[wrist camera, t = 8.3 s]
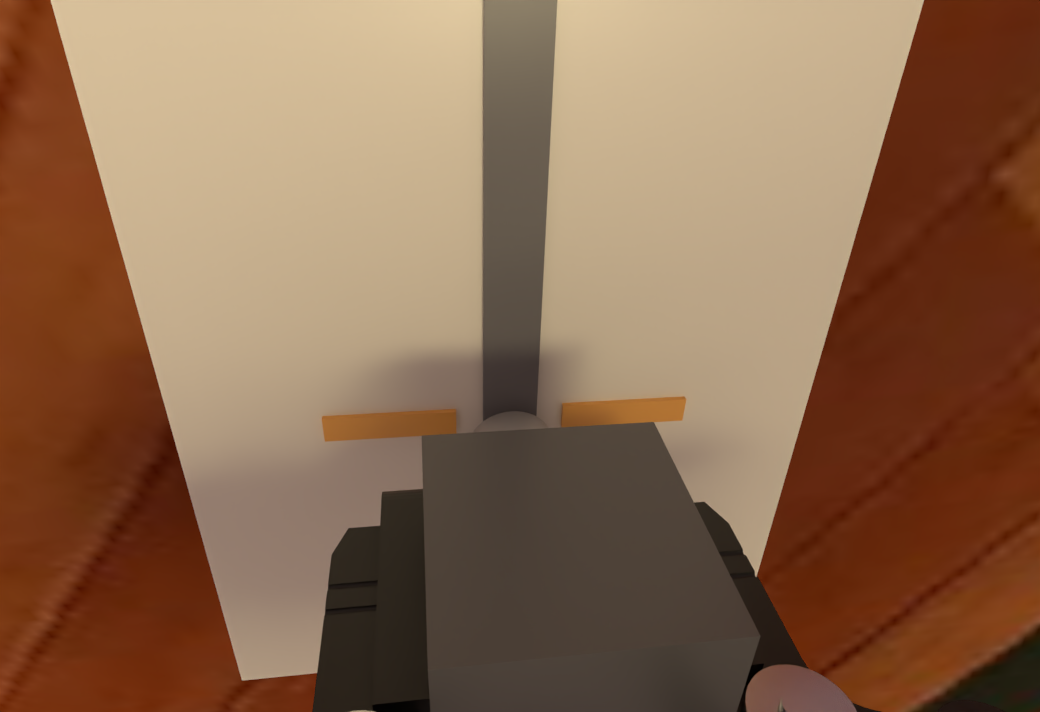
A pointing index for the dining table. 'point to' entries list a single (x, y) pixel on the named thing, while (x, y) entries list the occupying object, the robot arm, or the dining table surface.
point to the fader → (573, 575)
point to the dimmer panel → (472, 243)
